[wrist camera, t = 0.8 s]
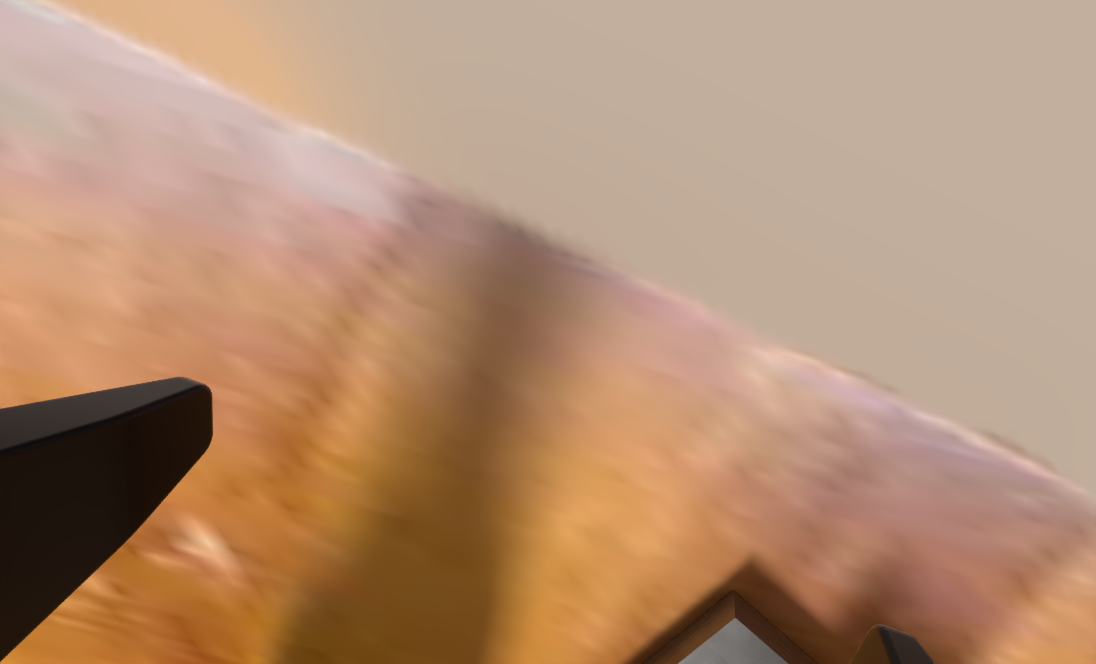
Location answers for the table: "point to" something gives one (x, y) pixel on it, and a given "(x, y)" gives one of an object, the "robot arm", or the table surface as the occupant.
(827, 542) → the table surface
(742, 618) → the socket frame
